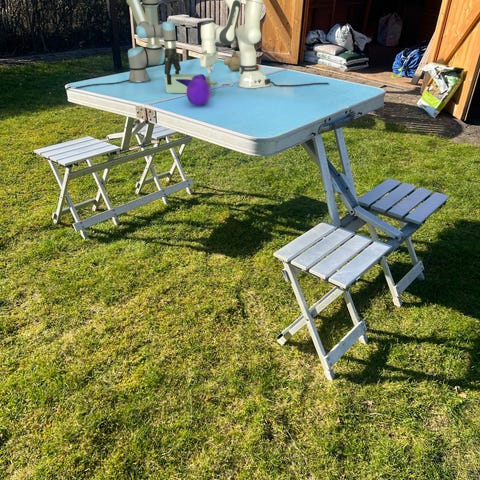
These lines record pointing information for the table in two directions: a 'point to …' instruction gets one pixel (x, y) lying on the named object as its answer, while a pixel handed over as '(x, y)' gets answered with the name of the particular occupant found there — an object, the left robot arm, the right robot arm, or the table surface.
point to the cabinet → (177, 86)
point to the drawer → (209, 81)
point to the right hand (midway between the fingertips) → (209, 72)
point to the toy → (197, 90)
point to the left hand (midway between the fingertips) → (173, 82)
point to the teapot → (233, 62)
